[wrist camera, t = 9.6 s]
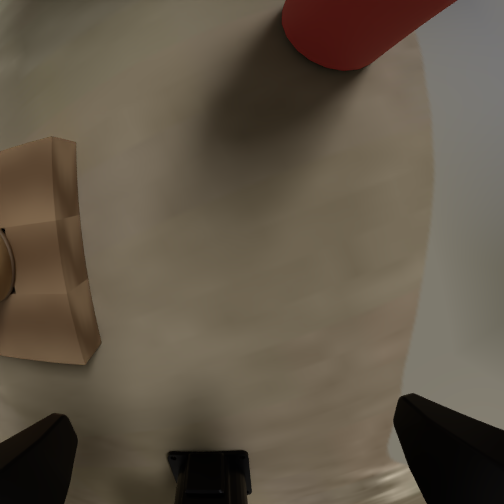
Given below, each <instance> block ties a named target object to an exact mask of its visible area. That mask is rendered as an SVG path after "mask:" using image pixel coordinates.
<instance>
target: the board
mask: <svg viewBox="0 0 504 504" xmlns="http://www.w3.org/2000/svg"><path fill="white" fill-rule="evenodd" d="M0 228H5V234H6V236H7V238H8V240H9V242H10V244H11V246H12V249H13V252H14V256H15V261H16V281H15V285H14V288H13V290H12V292H11V294H10V295H9V296H8V298H6V299H5V300H4V301H2V302H0V355H1V356H7V357H14V358H21V359H29V360H37V361H46V362H55V363H66V364H78V365H86V363H87V362H88V360H89V359H90V358H91V356H92V355H93V354H94V352H95V351H96V350H97V348H98V347H99V345H100V344H101V343H102V342H101V338H100V334H99V330H98V325H97V321H96V317H95V312H94V307H93V302H92V297H91V292H90V286H89V281H88V275H87V269H86V262H85V256H84V249H83V241H82V233H81V224H80V213H79V202H78V187H77V167H76V142H73V141H69V140H65V139H61V138H57V137H52V136H51V137H47V138H44V139H40V140H36V141H33V142H29V143H26V144H22V145H19V146H15V147H12V148H9V149H6V150H3V151H0Z"/></svg>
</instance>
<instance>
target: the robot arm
mask: <svg viewBox="0 0 504 504" xmlns="http://www.w3.org/2000/svg"><path fill="white" fill-rule="evenodd" d="M393 423H394V427H395V430H396V433H397V435H398V438H399V441H400V443H401V446H402V449H403V452H404V454H405V458H406V460H407V463H408V466H409V468H410V470H411V472H412V474H413V476H414V478H415V481H416V483H417V485H418V487H419V489H420V491H421V493H422V495H423V497H424V499H425V501H426V503H427V504H504V430H502V429H499V428H496V427H493V426H491V425H489V424H486V423H484V422H481V421H478V420H476V419H473V418H471V417H468V416H466V415H463V414H461V413H459V412H456V411H454V410H451V409H449V408H447V407H444V406H442V405H440V404H437V403H435V402H433V401H430V400H428V399H426V398H424V397H421V396H419V395H417V394H414V393H411V394H407V395H403V396H401V397H400V398H399V399H398V403H397V407H396V410H395V414H394V419H393ZM77 443H78V439H77V435H76V433H75V431H74V429H73V427H72V424H71V422H70V420H69V418H68V417H67V416H66V415H64V414H58V413H53V414H51V415H49V416H47V417H46V418H44V419H42V420H40V421H39V422H37V423H35V424H33V425H32V426H30V427H28V428H26V429H25V430H23V431H21V432H19V433H18V434H16V435H14V436H12V437H11V438H9V439H7V440H5V441H3V442H2V443H0V504H64V502H65V499H66V495H67V492H68V488H69V484H70V480H71V474H72V469H73V463H74V458H75V453H76V448H77ZM168 461H169V464H170V466H171V469H172V472H173V475H174V477H175V480H176V483H177V487H176V495H175V503H174V504H248V502H247V495H249V494H251V493H252V489H251V479H250V468H249V458H248V452H246V451H219V452H177V451H172V452H169V453H168Z"/></svg>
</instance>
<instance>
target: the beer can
mask: <svg viewBox="0 0 504 504" xmlns="http://www.w3.org/2000/svg"><path fill="white" fill-rule="evenodd" d="M455 1H457V0H286V1H285V4H284V7H283V10H282V26H283V28H284V31H285V33H286V36H287V38H288V39H289V41H290V42H291V43H292V44H293V46H294V47H295V48H296V50H297V51H298V52H300V53H301V54H302V55H304V56H305V57H306V58H308V59H309V60H310V61H312V62H315V63H317V64H319V65H321V66H324V67H326V68H331V69H336V70H342V71H347V70H357V69H361V68H363V67H365V66H367V65H369V64H371V63H372V62H374V61H375V60H376V59H377V58H379V57H380V56H381V55H383V54H384V53H385V52H386V51H388V50H389V49H390V48H392V47H393V46H394V45H396V44H397V43H398V42H400V41H401V40H402V39H404V38H405V37H406V36H408V35H409V34H410V33H412V32H413V31H414V30H416V29H417V28H418V27H420V26H421V25H423V24H424V23H425V22H427V21H428V20H430V19H431V18H432V17H434V16H435V15H437V14H438V13H439V12H441V11H442V10H444V9H445V8H447V7H448V6H450V5H451V4H453V3H454V2H455Z"/></svg>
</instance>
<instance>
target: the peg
mask: <svg viewBox="0 0 504 504" xmlns="http://www.w3.org/2000/svg"><path fill="white" fill-rule="evenodd" d="M15 281H16V261H15V256H14V252H13V249H12V246H11V244H10V242H9V240H8V238H7V236H6V234H5V233H4V232H3V231H2V230H1V228H0V302H2V301H4V300H5V299H6V298H8V296H9V295H10V294H11V292H12V290H13V288H14V285H15Z"/></svg>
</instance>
